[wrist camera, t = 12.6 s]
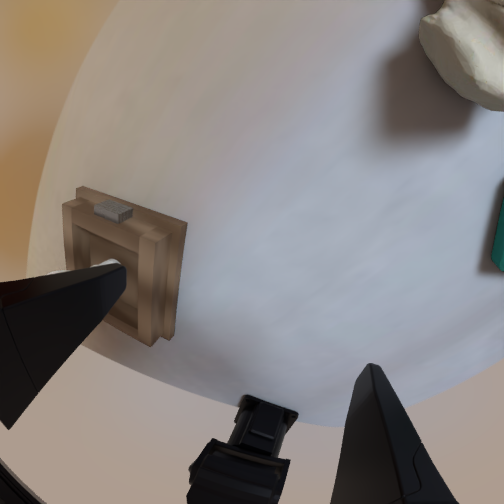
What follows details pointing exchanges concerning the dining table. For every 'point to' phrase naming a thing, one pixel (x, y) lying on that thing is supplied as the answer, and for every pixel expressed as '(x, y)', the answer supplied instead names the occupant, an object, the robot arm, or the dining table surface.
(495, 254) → the digital multimeter
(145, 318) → the bulb holder
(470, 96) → the ceramic sculpture
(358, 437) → the robot arm
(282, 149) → the dining table surface
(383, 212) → the dining table surface
